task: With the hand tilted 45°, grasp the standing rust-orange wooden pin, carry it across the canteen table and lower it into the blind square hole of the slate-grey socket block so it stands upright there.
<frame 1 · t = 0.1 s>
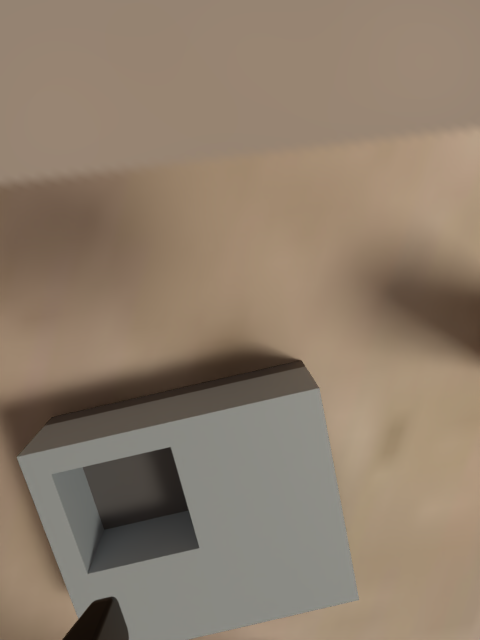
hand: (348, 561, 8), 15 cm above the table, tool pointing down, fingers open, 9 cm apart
socket block: (202, 483, 24), on the table
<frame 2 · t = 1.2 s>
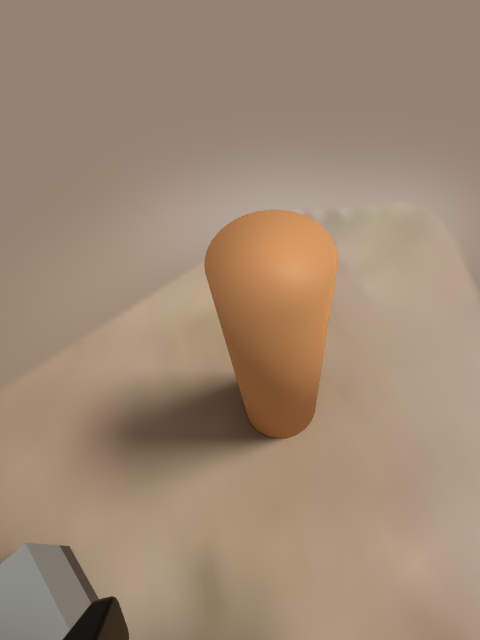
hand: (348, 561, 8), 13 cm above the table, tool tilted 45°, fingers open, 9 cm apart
pin: (279, 402, 23), on the table
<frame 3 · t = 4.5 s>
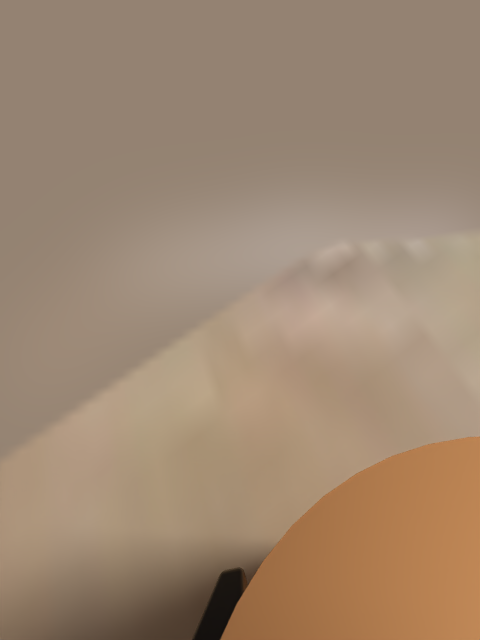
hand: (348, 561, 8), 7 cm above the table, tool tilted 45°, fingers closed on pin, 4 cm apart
pin: (338, 615, 13), on the table, touching gripper
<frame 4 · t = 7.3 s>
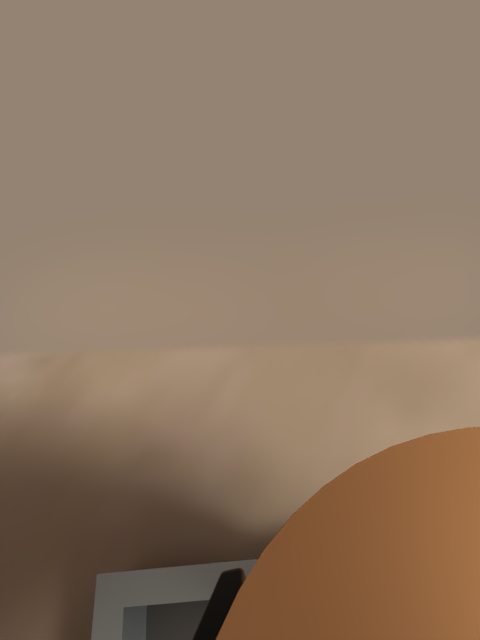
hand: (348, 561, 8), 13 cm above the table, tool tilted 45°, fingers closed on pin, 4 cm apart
pin: (338, 613, 13), point 7 cm above the table, touching gripper
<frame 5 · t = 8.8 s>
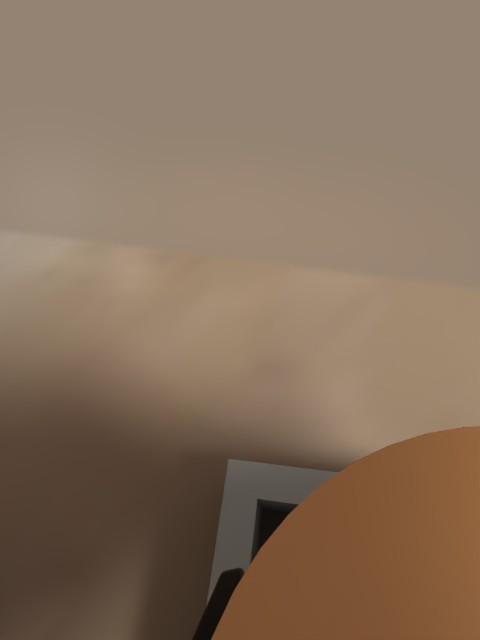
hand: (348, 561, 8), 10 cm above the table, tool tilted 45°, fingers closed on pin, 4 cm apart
pin: (337, 613, 13), point 3 cm above the table, touching gripper
when the fingers open (9 cm above the table, at t = 10.0 s): pin drops 1 cm, resting on socket block.
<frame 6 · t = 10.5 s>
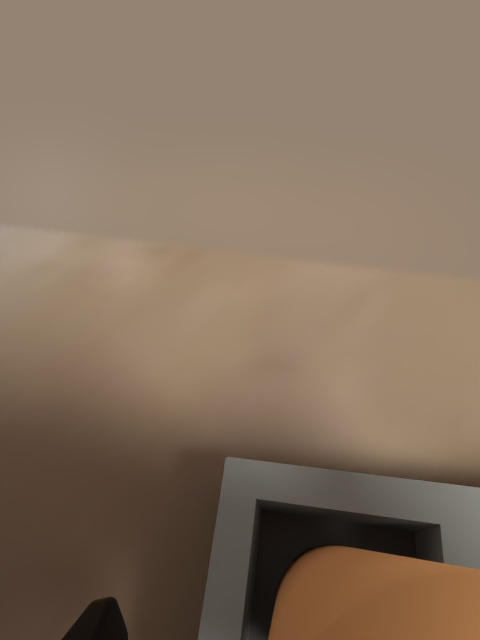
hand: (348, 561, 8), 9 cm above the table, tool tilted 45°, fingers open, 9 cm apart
pin: (334, 611, 14), point 1 cm above the table, touching socket block
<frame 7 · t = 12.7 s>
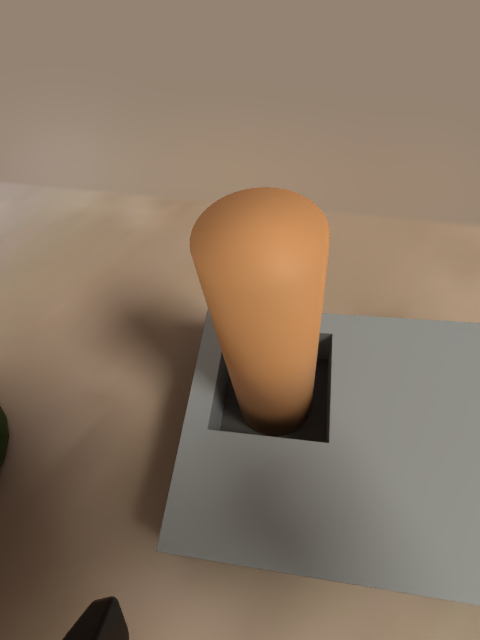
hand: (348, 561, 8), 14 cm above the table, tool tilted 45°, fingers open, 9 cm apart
socket block: (327, 447, 22), on the table
pin: (275, 400, 23), point 1 cm above the table, touching socket block
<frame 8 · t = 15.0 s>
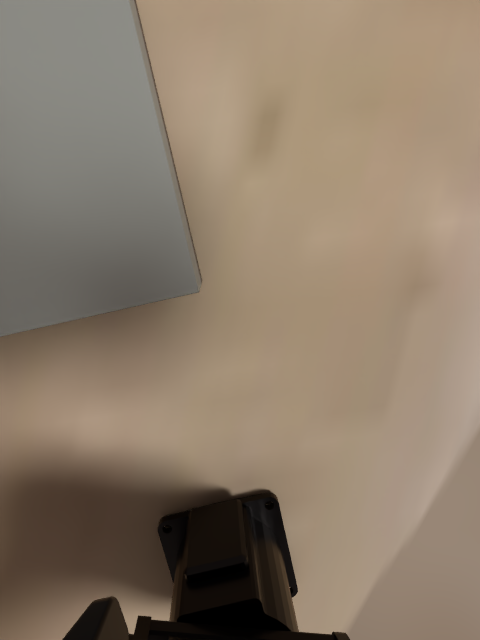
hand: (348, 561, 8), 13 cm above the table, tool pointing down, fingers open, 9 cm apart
socket block: (17, 183, 18), on the table
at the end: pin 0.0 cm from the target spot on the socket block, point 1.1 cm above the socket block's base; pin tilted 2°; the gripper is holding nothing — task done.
